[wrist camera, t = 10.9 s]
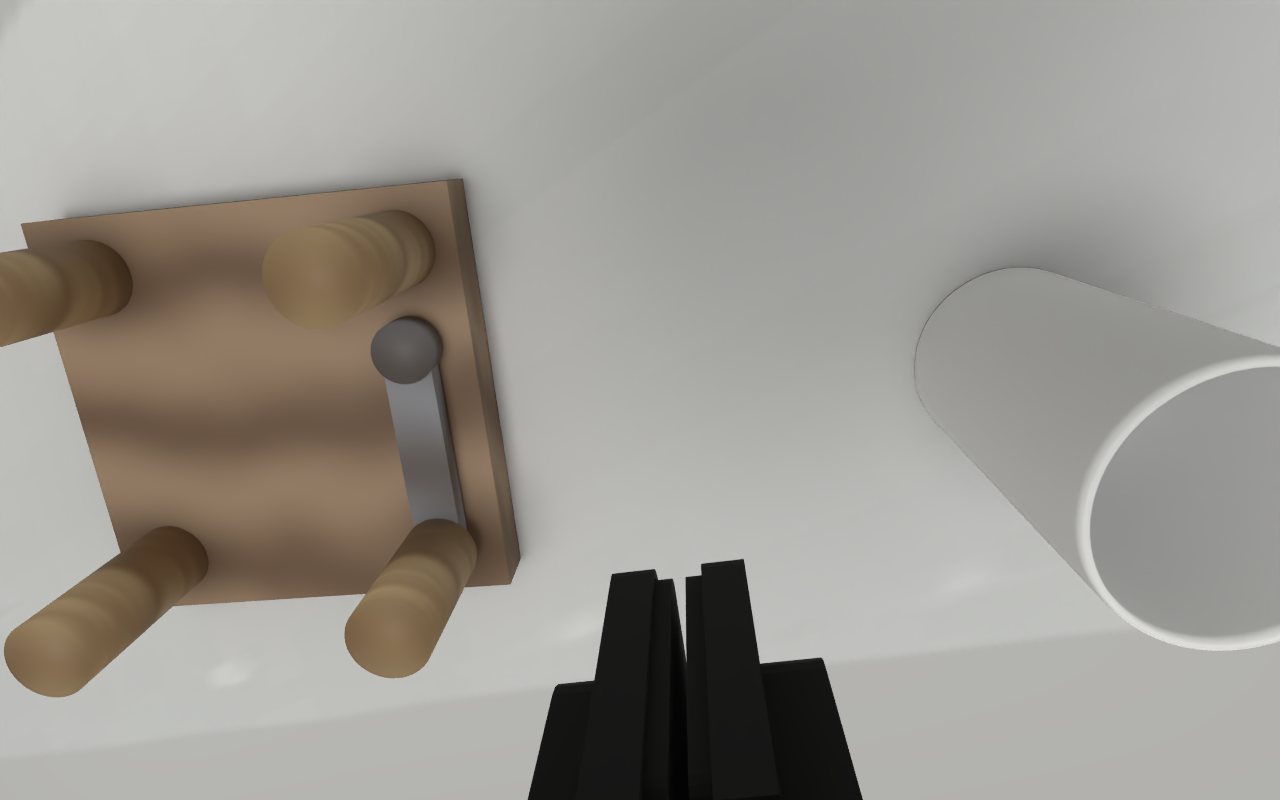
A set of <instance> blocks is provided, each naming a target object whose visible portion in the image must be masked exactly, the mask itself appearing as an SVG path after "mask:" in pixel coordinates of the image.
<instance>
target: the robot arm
mask: <svg viewBox="0 0 1280 800" xmlns="http://www.w3.org/2000/svg"><path fill="white" fill-rule="evenodd" d="M701 572H702V575H701V576H692V577H686V650H687V663H686V657H685V650H684V644H683V637H682V631H681V624H680V618H679V612H678V605H677V599H676V592H675V586H674V582H673V579H665V580H658V578H657V574H656V571H655V569H652V570H643V571H634V572H625V573H616V574H612V576H611V582H610V588H609V594H608V600H607V606H606V612H605V619H604V625H603V631H602V637H601V643H600V649H599V656H598V662H597V668H596V674H595V680H594V681H586V682H576V683H566V684H558V685H557V686H556V687H555V689H554V692H553V695H552V699H551V703H550V707H549V712H548V716H547V720H546V724H545V728H544V733H543V737H542V741H541V745H540V750H539V754H538V759H537V763H536V767H535V771H534V775H533V779H532V784H531V788H530V792H529V796H528V800H863V799H862V795H861V792H860V788H859V785H858V781H857V778H856V774H855V771H854V767H853V763H852V760H851V756H850V753H849V749H848V745H847V742H846V738H845V735H844V731H843V728H842V724H841V721H840V717H839V713H838V710H837V706H836V703H835V699H834V696H833V692H832V688H831V685H830V681H829V678H828V674H827V671H826V667H825V664H824V661H823V659H822V658H813V659H803V660H793V661H783V662H773V663H763V664H760V661H759V655H758V648H757V642H756V635H755V629H754V623H753V616H752V610H751V603H750V597H749V590H748V584H747V577H746V571H745V564H744V559H740V560H732V561H723V562H714V563H705V564H701Z"/></svg>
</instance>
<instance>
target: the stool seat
mask: <svg viewBox="0 0 1280 800" xmlns="http://www.w3.org/2000/svg"><path fill="white" fill-rule="evenodd" d="M21 226H22V230H23V233H24V236H25V240H26V243H27V246H28V249H22V250H15V251H9V252H2V253H0V347H3V346H6V345H10V344H13V343H16V342H20V341H23V340H27V339H30V338H34V337H37V336H41V335H44V334H48V333H51V332H54V335H55V338H56V341H57V345H58V348H59V351H60V355H61V358H62V361H63V364H64V368H65V371H66V374H67V378H68V381H69V384H70V387H71V391H72V394H73V397H74V401H75V404H76V407H77V410H78V414H79V417H80V420H81V423H82V427H83V430H84V433H85V437H86V440H87V443H88V446H89V450H90V453H91V456H92V460H93V463H94V466H95V469H96V473H97V476H98V479H99V483H100V486H101V489H102V492H103V496H104V499H105V502H106V506H107V509H108V512H109V515H110V519H111V522H112V525H113V529H114V532H115V535H116V538H117V542H118V545H119V548H120V552H121V553H120V554H118V555H117V556H116V557H114V558H113V559H111V560H110V561H109V562H107V563H106V564H104V565H103V566H102V567H100V568H99V569H97V570H96V571H95V572H93V573H92V574H90V575H89V576H88V577H86V578H85V579H84V580H82V581H81V582H79V583H78V584H77V585H75V586H74V587H72V588H71V589H70V590H68V591H67V592H65V593H64V594H63V595H61V596H60V597H59V598H57V599H56V600H54V601H53V602H52V603H50V604H49V605H47V606H46V607H45V608H43V609H42V610H40V611H39V612H38V613H36V614H35V615H34V616H32V617H31V618H29V619H28V620H27V621H25V622H24V623H22V624H21V625H20V626H18V627H17V628H15V629H14V630H13V631H12V632H11V633H10V634H9V636H8V637H7V639H6V642H5V646H4V656H5V660H6V663H7V666H8V668H9V670H10V671H11V673H12V674H13V676H14V677H15V678H16V679H17V680H18V681H19V682H20V683H21V684H22V685H24V686H25V687H26V688H28V689H30V690H31V691H33V692H36V693H38V694H41V695H44V696H48V697H65V696H69V695H72V694H74V693H76V692H77V691H79V690H80V689H81V688H82V687H83V686H85V685H86V684H87V683H88V682H89V681H90V680H91V679H92V678H93V677H95V676H96V675H97V674H98V673H99V672H100V671H101V670H102V669H104V668H105V667H106V666H107V665H108V664H109V663H110V662H111V661H112V660H114V659H115V658H116V657H117V656H118V655H119V654H120V653H121V652H122V651H124V650H125V649H126V648H127V647H128V646H129V645H130V644H131V643H132V642H134V641H135V640H136V639H137V638H138V637H139V636H140V635H141V634H142V633H144V632H145V631H146V630H147V629H148V628H149V627H150V626H151V625H152V624H154V623H155V622H156V621H157V620H158V619H159V618H160V617H161V616H162V615H164V614H165V613H166V612H167V611H168V610H169V609H170V608H171V607H172V606H182V605H198V604H213V603H229V602H244V601H260V600H275V599H291V598H306V597H322V596H337V595H353V594H366V593H367V592H368V591H369V589H370V588H371V586H372V585H373V583H374V582H375V581H376V579H377V578H378V576H379V575H380V574H381V572H382V571H383V569H384V568H385V567H386V565H387V564H388V562H389V561H390V559H391V558H392V557H393V555H394V554H395V552H396V551H397V550H398V548H399V547H400V545H401V544H402V542H403V541H404V540H405V538H406V537H407V535H408V534H409V533H410V531H411V530H412V529H413V528H414V527H413V522H412V517H411V511H410V506H409V501H408V496H407V491H406V486H405V481H404V475H403V470H402V465H401V460H400V455H399V450H398V445H397V440H396V434H395V429H394V424H393V419H392V414H391V409H390V404H389V398H388V393H387V388H386V383H385V378H384V377H383V376H382V375H381V374H380V373H379V372H378V370H377V369H376V367H375V366H374V364H373V361H372V358H371V343H372V340H373V337H374V336H375V334H376V333H377V331H378V330H379V329H381V328H382V327H383V326H385V325H387V324H388V323H390V322H392V321H393V320H395V319H397V318H400V317H404V316H413V317H418V318H421V319H423V320H425V321H426V322H428V323H429V324H430V325H432V326H433V327H434V329H435V330H436V331H437V333H438V335H439V337H440V339H441V343H442V356H441V359H440V361H439V363H438V366H439V372H440V377H441V383H442V389H443V395H444V400H445V406H446V412H447V418H448V423H449V429H450V435H451V440H452V446H453V452H454V458H455V463H456V469H457V475H458V480H459V486H460V492H461V498H462V503H463V509H464V515H465V521H466V526H467V531H468V532H469V534H470V535H471V536H472V538H473V540H474V542H475V545H476V548H477V561H476V564H475V567H474V569H473V571H472V573H471V575H470V577H469V579H468V581H467V583H466V585H465V587H477V586H492V585H508V584H511V582H512V579H513V576H514V574H515V571H516V569H517V566H518V564H519V561H520V552H519V546H518V539H517V533H516V526H515V520H514V513H513V506H512V500H511V493H510V487H509V480H508V474H507V467H506V461H505V454H504V448H503V441H502V435H501V428H500V422H499V415H498V409H497V402H496V396H495V389H494V382H493V376H492V369H491V363H490V356H489V350H488V343H487V337H486V330H485V324H484V317H483V311H482V304H481V298H480V291H479V285H478V278H477V272H476V265H475V258H474V252H473V245H472V239H471V232H470V226H469V219H468V213H467V206H466V200H465V193H464V187H463V180H462V179H454V180H444V181H434V182H424V183H414V184H405V185H395V186H385V187H375V188H365V189H355V190H345V191H335V192H325V193H315V194H306V195H296V196H286V197H276V198H266V199H256V200H246V201H236V202H226V203H217V204H207V205H197V206H187V207H177V208H167V209H157V210H147V211H137V212H128V213H118V214H108V215H98V216H88V217H78V218H68V219H59V220H50V221H41V222H32V223H23V224H21Z"/></svg>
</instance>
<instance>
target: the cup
mask: <svg viewBox="0 0 1280 800" xmlns="http://www.w3.org/2000/svg"><path fill="white" fill-rule="evenodd" d="M915 380H916V386H917V390H918V393H919V396H920V399H921V401H922V403H923V405H924V407H925V409H926V411H927V412H928V414H929V415H930V416H931V418H932V419H933V420H934V421H935V422H936V424H937V425H938V426H939V427H940V428H941V429H942V430H943V431H944V432H945V433H946V434H947V435H948V436H949V437H950V439H951V440H952V441H953V442H954V443H955V444H956V445H957V446H958V447H959V448H960V449H961V450H962V451H963V452H964V453H965V455H966V456H967V457H968V458H969V459H970V460H971V461H972V462H973V463H974V464H975V465H976V466H977V467H978V468H979V469H980V471H981V472H982V473H983V474H984V475H985V476H986V477H987V478H988V479H989V480H990V481H991V482H992V483H993V484H994V485H995V487H996V488H997V489H998V490H999V491H1000V492H1001V493H1002V494H1003V495H1004V496H1005V497H1006V498H1007V499H1008V500H1009V501H1010V503H1011V504H1012V505H1013V506H1014V507H1015V508H1016V509H1017V510H1018V511H1019V512H1020V513H1021V514H1022V515H1023V516H1024V518H1025V519H1026V520H1027V521H1028V522H1029V523H1030V524H1031V525H1032V526H1033V527H1034V528H1035V529H1036V530H1037V531H1038V532H1039V534H1040V535H1041V536H1042V537H1043V538H1044V539H1045V540H1046V541H1047V542H1048V543H1049V544H1050V545H1051V546H1052V547H1053V548H1054V550H1055V551H1056V552H1057V553H1058V554H1059V555H1060V556H1061V557H1062V558H1063V559H1064V560H1065V561H1066V562H1067V563H1068V564H1069V566H1070V567H1071V568H1072V569H1073V570H1074V571H1075V572H1076V573H1077V574H1078V575H1079V576H1080V577H1081V578H1082V579H1083V580H1084V581H1085V582H1086V584H1087V585H1088V586H1089V587H1090V588H1091V589H1092V590H1093V591H1094V592H1095V593H1096V594H1097V595H1098V596H1099V597H1100V598H1101V599H1102V600H1103V601H1104V602H1105V603H1106V604H1107V605H1108V606H1109V607H1110V608H1111V609H1112V610H1113V611H1114V612H1115V613H1117V614H1118V615H1119V616H1120V617H1122V618H1123V619H1124V620H1125V621H1127V622H1128V623H1129V624H1131V625H1132V626H1134V627H1135V628H1137V629H1138V630H1140V631H1142V632H1144V633H1146V634H1148V635H1150V636H1152V637H1154V638H1156V639H1159V640H1162V641H1164V642H1167V643H1170V644H1174V645H1177V646H1181V647H1186V648H1192V649H1199V650H1210V651H1227V650H1241V649H1247V648H1254V647H1259V646H1263V645H1268V644H1272V643H1275V642H1278V641H1280V347H1277V346H1274V345H1271V344H1268V343H1265V342H1262V341H1259V340H1256V339H1253V338H1250V337H1247V336H1244V335H1241V334H1238V333H1234V332H1231V331H1228V330H1225V329H1222V328H1219V327H1216V326H1213V325H1210V324H1207V323H1204V322H1201V321H1198V320H1195V319H1192V318H1189V317H1186V316H1183V315H1180V314H1177V313H1174V312H1171V311H1168V310H1165V309H1162V308H1159V307H1156V306H1153V305H1150V304H1146V303H1143V302H1140V301H1137V300H1134V299H1131V298H1128V297H1125V296H1122V295H1119V294H1116V293H1113V292H1110V291H1107V290H1104V289H1101V288H1098V287H1095V286H1092V285H1089V284H1086V283H1083V282H1080V281H1077V280H1074V279H1071V278H1068V277H1065V276H1062V275H1058V274H1055V273H1052V272H1049V271H1045V270H1041V269H1036V268H1007V269H1001V270H997V271H993V272H990V273H986V274H984V275H981V276H979V277H976V278H975V279H973V280H971V281H969V282H967V283H965V284H964V285H962V286H961V287H959V288H958V289H956V290H955V291H954V292H953V293H951V294H950V295H949V296H948V297H947V298H946V299H945V300H944V301H943V302H942V303H941V304H940V305H939V306H938V307H937V309H936V310H935V311H934V313H933V314H932V315H931V317H930V319H929V320H928V322H927V324H926V326H925V328H924V330H923V332H922V334H921V337H920V339H919V343H918V346H917V350H916V356H915Z"/></svg>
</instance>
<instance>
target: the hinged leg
mask: <svg viewBox="0 0 1280 800" xmlns="http://www.w3.org/2000/svg"><path fill="white" fill-rule="evenodd" d="M441 356H442V343H441V339H440V337H439V335H438V333H437V331H436V330H435V329H434V327H433V326H432V325H430V324H429V323H428V322H426V321H425V320H423V319H421V318H418V317H413V316H404V317H400V318H397V319H395V320H393V321H392V322H390V323H388V324H387V325H385V326H383V327H382V328H381V329H379V330H378V331H377V333H376V334H375V336H374V337H373V340H372V343H371V358H372V361H373V364H374V366H375V367H376V369H377V370H378V372H379V373H380V374H381V375H382V376H383V377H384V378H385V383H386V388H387V393H388V398H389V404H390V409H391V414H392V419H393V424H394V429H395V434H396V440H397V445H398V450H399V455H400V460H401V465H402V470H403V475H404V481H405V486H406V491H407V496H408V501H409V506H410V511H411V517H412V522H413V527H414V528H413V529H412V530H411V531H410V533H409V534H408V535H407V537H406V538H405V540H404V541H403V542H402V544H401V545H400V547H399V548H398V550H397V551H396V552H395V554H394V555H393V557H392V558H391V559H390V561H389V562H388V564H387V565H386V567H385V568H384V569H383V571H382V572H381V574H380V575H379V576H378V578H377V579H376V581H375V582H374V583H373V585H372V586H371V588H370V589H369V591H368V592H367V593H366V595H365V596H364V598H363V599H362V600H361V602H360V603H359V605H358V606H357V607H356V609H355V610H354V612H353V613H352V615H351V616H350V617H349V619H348V621H347V624H346V627H345V643H346V646H347V649H348V651H349V653H350V654H351V656H352V658H353V659H354V660H355V661H356V662H357V663H358V664H359V665H360V666H361V667H362V668H364V669H365V670H367V671H369V672H370V673H373V674H375V675H378V676H381V677H386V678H402V677H406V676H409V675H412V674H414V673H416V672H417V671H419V670H420V669H421V668H422V667H423V666H424V665H425V664H426V663H427V662H428V660H429V658H430V656H431V654H432V652H433V650H434V648H435V646H436V644H437V642H438V640H439V638H440V636H441V634H442V632H443V630H444V628H445V626H446V624H447V621H448V619H449V617H450V615H451V613H452V611H453V609H454V607H455V605H456V603H457V601H458V599H459V597H460V595H461V593H462V591H463V589H464V587H465V585H466V583H467V581H468V579H469V577H470V575H471V573H472V571H473V569H474V567H475V564H476V561H477V548H476V545H475V542H474V540H473V538H472V536H471V535H470V534H469V532H468V531H467V526H466V521H465V515H464V509H463V503H462V498H461V492H460V486H459V480H458V475H457V469H456V463H455V458H454V452H453V446H452V440H451V435H450V429H449V423H448V418H447V412H446V406H445V400H444V395H443V389H442V383H441V377H440V372H439V366H438V363H439V361H440V359H441Z"/></svg>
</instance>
